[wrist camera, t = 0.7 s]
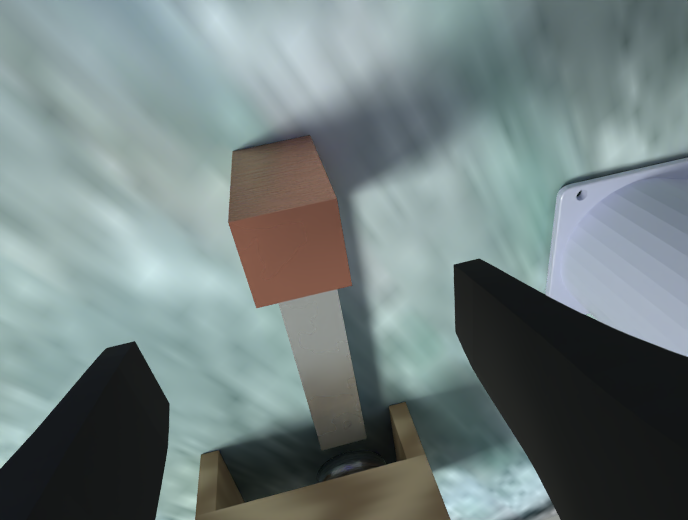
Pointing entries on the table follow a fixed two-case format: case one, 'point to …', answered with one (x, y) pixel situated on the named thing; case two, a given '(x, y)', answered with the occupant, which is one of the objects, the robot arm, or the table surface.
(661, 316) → the robot arm
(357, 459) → the token
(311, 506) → the wooden bridge block
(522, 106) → the table surface
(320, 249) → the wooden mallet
